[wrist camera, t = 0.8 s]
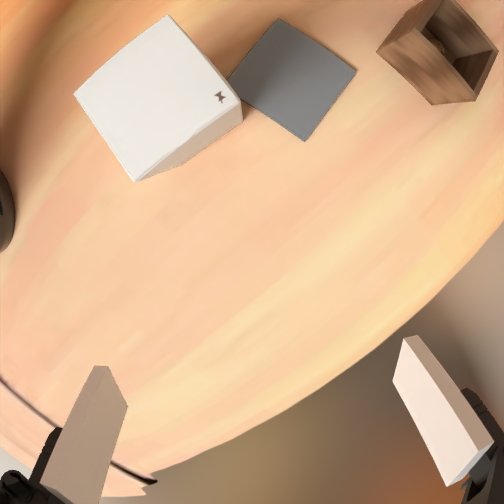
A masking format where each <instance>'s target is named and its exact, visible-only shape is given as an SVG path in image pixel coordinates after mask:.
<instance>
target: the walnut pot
mask: <svg viewBox="0 0 504 504" xmlns="http://www.w3.org/2000/svg"><path fill="white" fill-rule="evenodd" d="M429 39H435V40H437V41H439V42H440V43H441V44H442V45H443V47H444V49H445V53H446V56H445V57H444V56H443V55H442V54H441V53H440V52H439V51H438V50H437V49H436V48H435V47H434V46H433V45H432V44H431V43H430V42H429V41H428V40H429ZM498 52H499V51H498V50H497V48H496V47H495V46H494V44H493V43H492V42H491V41H490V39H489V38H488V37H487V36H486V34H485V33H484V32H483V31H482V30H481V28H480V27H479V26H478V25H477V24H476V23H475V21H474V20H473V19H472V18H471V17H470V16H469V15H468V14H467V13H466V12H465V10H464V9H463V8H462V7H461V6H460V5H459V4H458V3H457V2H456V1H455V0H423V1H421V2H420V3H418V4H417V5H415V6H414V7H412V8H411V9H409V10H408V11H407V12H406V13H405V15H404V16H403V17H402V18H401V20H400V21H399V22H398V24H397V25H396V26H395V28H394V29H393V30H392V31H391V33H390V34H389V35H388V37H387V38H386V39H385V41H384V42H383V43H382V45H381V46H380V47H379V49H378V50H377V51H376V53H377V54H379V55H380V56H381V57H382V58H383V59H384V60H386V61H387V62H388V63H389V64H390V65H391V66H392V67H393V68H395V69H396V70H397V71H398V72H399V73H400V74H401V75H402V76H403V77H404V78H405V79H406V80H407V81H408V82H409V83H410V84H412V85H413V86H414V87H415V88H416V89H417V90H418V91H419V92H420V94H421V95H422V96H423V97H424V98H425V99H426V100H427V101H428V102H429V103H430V104H431V105H438V104H447V103H458V102H470V101H476V99H477V97H478V95H479V93H480V91H481V89H482V87H483V85H484V83H485V80H486V78H487V76H488V74H489V72H490V70H491V68H492V65H493V63H494V61H495V59H496V56H497V54H498Z"/></svg>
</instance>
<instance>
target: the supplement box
mask: <svg viewBox="0 0 504 504" xmlns="http://www.w3.org/2000/svg"><path fill="white" fill-rule="evenodd" d="M74 96H75V97H76V98H77V100H78V101H79V103H80V105H81V106H82V108H83V109H84V110H85V112H86V113H87V115H88V116H89V118H90V119H91V121H92V122H93V123H94V125H95V126H96V128H97V129H98V131H99V132H100V134H101V135H102V137H103V138H104V139H105V141H106V142H107V144H108V145H109V147H110V148H111V150H112V151H113V153H114V154H115V156H116V157H117V159H118V160H119V161H120V163H121V164H122V166H123V167H124V169H125V170H126V172H127V173H128V175H129V176H130V177H131V179H132V180H133V182H138V181H141V180H144V179H146V178H149V177H151V176H154V175H156V174H159V173H162V172H164V171H167V170H170V169H173V168H175V167H178V166H181V165H183V164H184V163H186V162H187V161H188V160H190V159H191V158H192V157H194V156H195V155H196V154H198V153H199V152H200V151H202V150H203V149H205V148H206V147H207V146H209V145H210V144H212V143H213V142H214V141H216V140H217V139H219V138H220V137H221V136H223V135H224V134H226V133H227V132H229V131H230V130H231V129H233V128H234V127H236V126H237V125H239V124H240V123H242V122H243V115H242V108H241V100H240V98H239V97H238V96H237V94H236V93H235V91H234V90H233V89H232V87H231V86H230V85H229V83H228V82H227V81H226V79H225V78H224V77H223V76H222V74H221V73H220V72H219V71H218V69H217V68H216V67H215V66H214V65H213V63H212V62H211V61H210V60H209V59H208V57H207V56H206V55H205V54H204V53H203V52H202V51H201V49H200V48H199V47H198V46H197V45H196V44H195V43H194V41H193V40H192V39H191V38H190V37H189V36H188V35H187V34H186V33H185V32H184V31H183V29H182V28H181V27H180V26H179V25H178V24H177V23H176V22H175V21H174V20H173V19H172V17H171V16H170V15H166V16H165V17H163V18H162V19H161V20H159V21H158V22H156V23H155V24H153V25H152V26H151V27H149V28H148V29H147V30H145V31H144V32H142V33H141V34H140V35H138V36H137V37H136V38H135V39H133V40H132V41H131V42H129V43H128V44H127V45H126V46H124V47H123V48H122V49H121V50H120V51H118V52H117V53H116V54H115V55H114V56H112V57H111V58H110V59H109V60H108V61H107V62H106V63H105V64H103V65H102V66H101V67H100V68H99V69H98V70H97V71H96V72H95V73H94V74H93V75H92V76H91V77H90V78H88V79H87V80H86V81H85V82H84V83H83V84H82V85H81V86H80V87H79V88H78V89H77V90H76V91H75V92H74Z"/></svg>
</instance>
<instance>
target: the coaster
mask: <svg viewBox="0 0 504 504" xmlns="http://www.w3.org/2000/svg"><path fill="white" fill-rule="evenodd" d="M355 73H356V71H355V70H354V69H353V68H351V67H350V66H349V65H347V64H346V63H345V62H343V61H342V60H341V59H340V58H338V57H337V56H335V55H334V54H333V53H331V52H330V51H329V50H327V49H326V48H324V47H323V46H321V45H320V44H319V43H317V42H316V41H314V40H313V39H311V38H310V37H308V36H307V35H305V34H304V33H302V32H300V31H299V30H297V29H296V28H294V27H292V26H291V25H289V24H287V23H286V22H284V21H282V20H281V19H279V18H278V19H277V20H276V21H275V22H274V23H273V24H272V26H271V27H270V28H269V29H268V30H267V31H266V32H265V34H264V35H263V36H262V37H261V38H260V40H259V41H258V42H257V43H256V44H255V46H254V47H253V48H252V49H251V50H250V52H249V53H248V54H247V55H246V57H245V58H244V59H243V60H242V62H241V63H240V64H239V65H238V67H237V68H236V69H235V71H234V72H233V73H232V74H231V76H230V77H229V78H228V80H227V82H228V83H229V85H230V86H231V87H232V89H233V90H234V91H235V93H236V94H237V96H238V97H239V98H240V99H242V100H243V101H245V102H246V103H248V104H249V105H251V106H253V107H254V108H256V109H257V110H259V111H260V112H262V113H263V114H265V115H266V116H268V117H269V118H271V119H272V120H274V121H275V122H277V123H278V124H280V125H281V126H283V127H284V128H285V129H287V130H288V131H290V132H291V133H293V134H294V135H295V136H297V137H298V138H300V139H301V140H302V141H304V142H305V141H306V140H307V138H308V137H309V136H310V134H311V133H312V132H313V130H314V129H315V127H316V126H317V125H318V123H319V122H320V121H321V119H322V118H323V117H324V115H325V114H326V112H327V111H328V110H329V108H330V107H331V106H332V104H333V103H334V102H335V100H336V99H337V98H338V96H339V95H340V93H341V92H342V91H343V89H344V88H345V87H346V85H347V84H348V83H349V81H350V80H351V79H352V77H353V76H354V75H355Z"/></svg>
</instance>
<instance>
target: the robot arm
mask: <svg viewBox="0 0 504 504" xmlns="http://www.w3.org/2000/svg"><path fill="white" fill-rule="evenodd" d="M13 230H14V204H13V199H12V194H11V191H10V188H9V185H8V183H7V180H6V178H5V177H4V175H3V174H2V172H1V171H0V253H1V252H3V251H4V250H5V249H6V248H7V246H8V245H9V243H10V241H11V238H12V235H13ZM393 383H394V385H395V387H396V389H397V390H398V392H399V394H400V396H401V398H402V399H403V401H404V403H405V405H406V407H407V408H408V411H409V412H410V414H411V416H412V418H413V420H414V422H415V424H416V426H417V428H418V429H419V431H420V433H421V435H422V437H423V439H424V441H425V443H426V445H427V447H428V449H429V451H430V453H431V455H432V457H433V459H434V461H435V463H436V465H437V467H438V470H439V472H440V474H441V476H442V478H443V480H444V482H445V484H446V486H449V485H451V484H453V483H455V482H457V481H459V480H461V479H462V478H463V477H464V476H465V475H466V474H467V473H468V472H469V474H470V476H471V477H470V478H469V479H468V480H467V481H466V482H465V483H464V484H463V485H462V486H461V488H460V489H463V488H464V487H465V486H466V485H467V487H466V490H465V494H464V497H463V500H462V503H461V504H504V432H503V431H502V429H501V428H500V427H499V425H498V424H497V422H496V421H495V419H494V418H493V416H492V415H491V414H490V412H489V411H487V408H486V406H485V405H484V404H483V402H482V401H481V400H480V398H479V397H478V396H477V394H476V393H474V392H473V391H471V390H470V389H468V388H465V389H463V390H461V391H460V390H459V389H458V387H457V386H456V385H455V383H454V382H453V381H452V379H451V378H450V377H449V375H448V374H447V373H446V371H445V370H444V368H443V367H442V366H441V364H440V363H439V362H438V361H437V360H436V358H435V357H434V355H433V354H432V353H431V352H430V350H429V349H428V348H427V346H426V345H425V344H424V343H423V341H422V340H421V339H420V338H419V336H418V335H415V336H411V337H407V338H404V339H403V343H402V347H401V351H400V355H399V359H398V363H397V367H396V371H395V374H394V378H393ZM127 408H128V405H127V403H126V401H125V399H124V398H123V396H122V394H121V392H120V390H119V388H118V386H117V384H116V382H115V380H114V378H113V375H112V373H111V371H110V369H109V367H108V366H94V367H93V369H92V371H91V373H90V375H89V377H88V379H87V381H86V383H85V384H84V386H83V388H82V390H81V392H80V394H79V396H78V398H77V400H76V402H75V404H74V406H73V408H72V410H71V413H70V415H69V417H68V419H67V421H66V423H65V425H64V427H63V428H60V427H56V428H55V429H54V430H53V431H52V432H51V433H50V434H49V436H48V438H47V440H46V442H45V446H44V447H43V449H42V453H40V456H39V458H38V460H37V462H36V465H35V467H34V469H33V472H32V474H31V476H30V478H29V480H28V479H27V478H25V477H24V476H23V475H22V474H21V473H20V472H19V471H16V470H9V471H7V472H5V473H4V474H3V476H2V477H1V480H0V504H99V501H100V497H101V494H102V490H103V486H104V483H105V479H106V475H107V472H108V469H109V465H110V462H111V458H112V455H113V452H114V448H115V445H116V442H117V439H118V436H119V432H120V429H121V426H122V423H123V420H124V417H125V414H126V411H127Z"/></svg>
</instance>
